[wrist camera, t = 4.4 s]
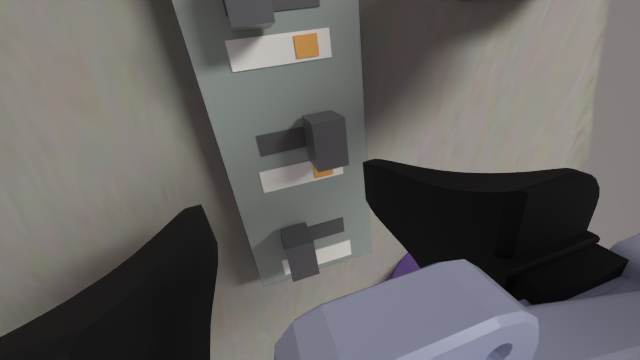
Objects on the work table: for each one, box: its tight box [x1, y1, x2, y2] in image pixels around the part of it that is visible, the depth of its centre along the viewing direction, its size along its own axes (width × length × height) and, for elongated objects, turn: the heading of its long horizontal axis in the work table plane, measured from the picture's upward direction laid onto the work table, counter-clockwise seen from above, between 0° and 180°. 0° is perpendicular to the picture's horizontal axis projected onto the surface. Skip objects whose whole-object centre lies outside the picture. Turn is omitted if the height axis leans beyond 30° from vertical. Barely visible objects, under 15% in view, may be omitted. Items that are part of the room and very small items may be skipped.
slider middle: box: [302, 110, 349, 172], centre depth 16 cm, size 2×3×2 cm, turn 7°
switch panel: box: [172, 0, 372, 287], centre depth 19 cm, size 10×24×3 cm, turn 8°
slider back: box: [280, 222, 319, 282], centre depth 19 cm, size 2×3×2 cm, turn 8°
